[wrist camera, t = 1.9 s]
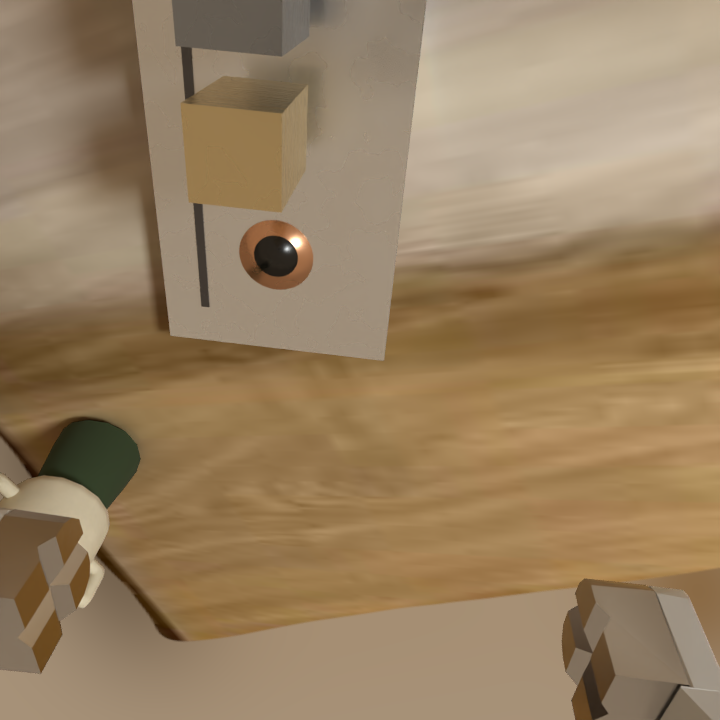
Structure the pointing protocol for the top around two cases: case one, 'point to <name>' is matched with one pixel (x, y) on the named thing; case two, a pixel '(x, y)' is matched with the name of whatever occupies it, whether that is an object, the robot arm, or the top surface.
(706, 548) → the top surface
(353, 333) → the bolt plate
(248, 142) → the wooden block peg
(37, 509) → the character mug
